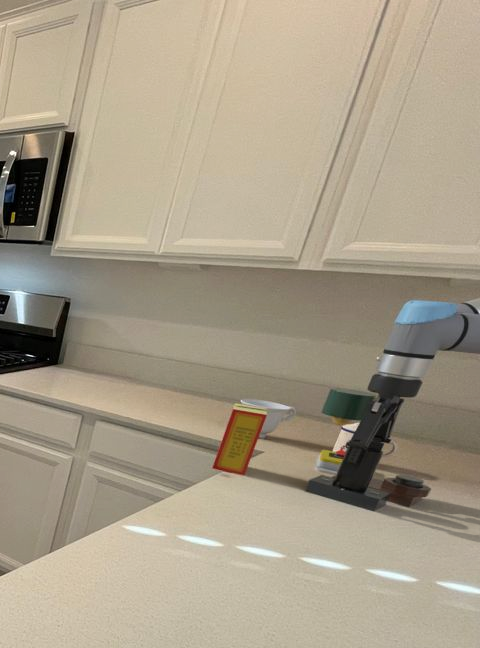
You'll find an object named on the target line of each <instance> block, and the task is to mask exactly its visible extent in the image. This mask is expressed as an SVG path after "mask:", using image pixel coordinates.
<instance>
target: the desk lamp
mask: <svg viewBox="0 0 480 648" xmlns="http://www.w3.org/2000/svg"><path fill="white" fill-rule="evenodd" d="M376 399H377V394H375V393H373V392H367V391H363V390H357V389H349V388H343V387H342V388H341V387H331V388H330V389H329V392H328V395H327V397H326V399H325V402H324V404H323V406H322V409H321V414H323V415H325V416H329V417H331V421H332V422H333V423H334V424H335V425H337V426H343V425H347V424H351V423H352V421H356V422H357V421H358V422H360V421H361V420H362V418H363V416H364V414H365V412H366V410H367V408H368V404H369V402H370V401H375V400H376Z"/></svg>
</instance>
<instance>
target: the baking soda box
mask: <svg viewBox="0 0 480 648" xmlns="http://www.w3.org/2000/svg"><path fill="white" fill-rule="evenodd" d="M266 416H267V408H261V407H255V406H249V405H243V404H242V403H238V402H237V403H236V402H235V403H234V404H233V408H232V411H231V414H230V416H229V419H228V422H227V425H226V428H225V430H224V433H223V435H222V439H221V442H220V446H219V448H218V450H217V453H216V456H215V458H214V462H213V464H212V467H211V468H212V469H214V470H217V471H223V472H226V473H231V474H236V475H239V476H245V475H246V472H247V469H248V467H249V464H250V461H251V459H252V456H253V453H254V451H255V448H256V446H257V442H258V440H259V435H260V432H261V430H262V427H263V424H264V422H265V419H266Z"/></svg>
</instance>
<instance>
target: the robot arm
mask: <svg viewBox="0 0 480 648" xmlns="http://www.w3.org/2000/svg"><path fill="white" fill-rule="evenodd" d="M438 351H441V352H442V351H443V352H457V353H466V354H476V355H477V354H478V355H480V297H478V298H475V299H471V300H468V301H464V302H460V303H454V302H447V301H446V302H445V301H434V300H433V301H431V300H418V299H417V300H416V299H413V300H409V301H406V303H404V305H403V306H402V308H401V310H400V311H399V313H398V316H397V317H396V319H395V320H394V324H393V327H392V329H391V332H390V334H389V337H388V339H387V341H386V344H385V346H384V349H383V351H382V354H381V356H377V357H376V358H375V361H376V362H378V363H377V365H376V368H375V371H376V372H377V373H374V374H373V375H372V376H371V378H370V380H369V383H368V386H367V390H368V391H369V392H370V393H373V394H375V393H376V394H378V395H377V396H376V398H377V399H376V400H375V401H370V402H369V404H368V408H367V410H366V412H365V414H364V416H363V418H362V420H361V421H359V422H358V423H359V425H358V427H357V429H356V431H355V433H354V435H353V436H352V438H351V440H350V441H349V442H347V443H346V446H350V448H349V451H348V453H347V455H346V458H345V460H344V462H343V465H342V467H341V469H340V471H339V474H340V475H344V476H348V477H351V478H356V476H357V474H358V471H359V469H360V467H361V465H362V462H363V460H364V458H365V456H366V453H367V451H368V450H367V448H368V447H370V448H374V449H378V450H380V451H382V450H383V448H384V446H385V444H391V443H390V442H391V441H392V439H391V435H392V432H393V430H394V427H395V424H396V421H397V418H398V415H399V412H400V410H401V407H402V405H403V404H404V402H405V399H404V398H409V399H410V398H415V397H417V396H418V394H419V391H420V389H421V387H422V385H423V380H421V379H423V378H426V377H427V375H428V373H429V371H430V368H431V366H432V364H433V361H434V359H435V356H436V355H437V353H438ZM360 441H362V442H360ZM382 442H383V443H382Z"/></svg>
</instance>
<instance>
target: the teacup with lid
mask: <svg viewBox="0 0 480 648" xmlns="http://www.w3.org/2000/svg"><path fill="white" fill-rule="evenodd" d="M359 423H360V422H355V423H349V424H347V425H341V427H340V433H339V435H338V437H337V439H336V442H335V444H334V447H333V449H332V451H333V452H336V451H343V452H346V451H347V449H348V446H346V443H347V442H349V441H350V440H351V438H352V436H353V435H354V433H355V431H356V429H357V427H358V425H359ZM360 442H362V441H360ZM382 443H384V442H382ZM389 444H391V445H392V449H391V450H390V451H389V452H387V453H383V455H382V457H381V458H388V457H390V456H392V455H394V454H395V453H396V452H397V450H398V444H397V443H396V442H395V441H394V440H391V442H390V443H389Z"/></svg>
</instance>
